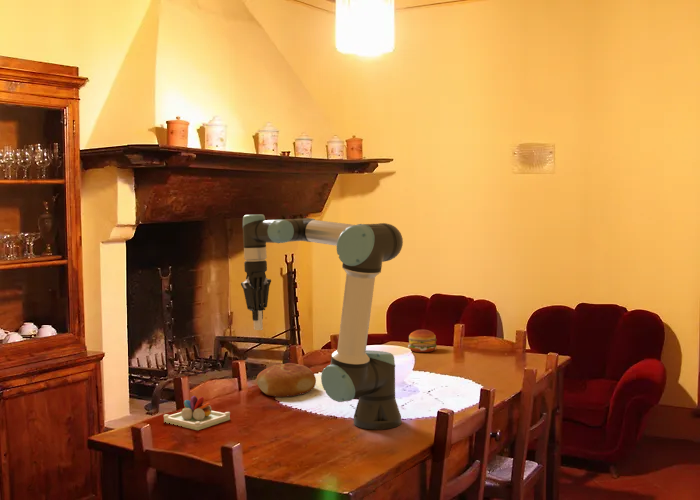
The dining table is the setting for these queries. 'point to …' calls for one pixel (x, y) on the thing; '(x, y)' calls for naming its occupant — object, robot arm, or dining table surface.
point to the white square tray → (195, 424)
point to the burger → (422, 341)
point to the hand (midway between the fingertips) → (258, 329)
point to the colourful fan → (195, 409)
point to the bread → (286, 380)
